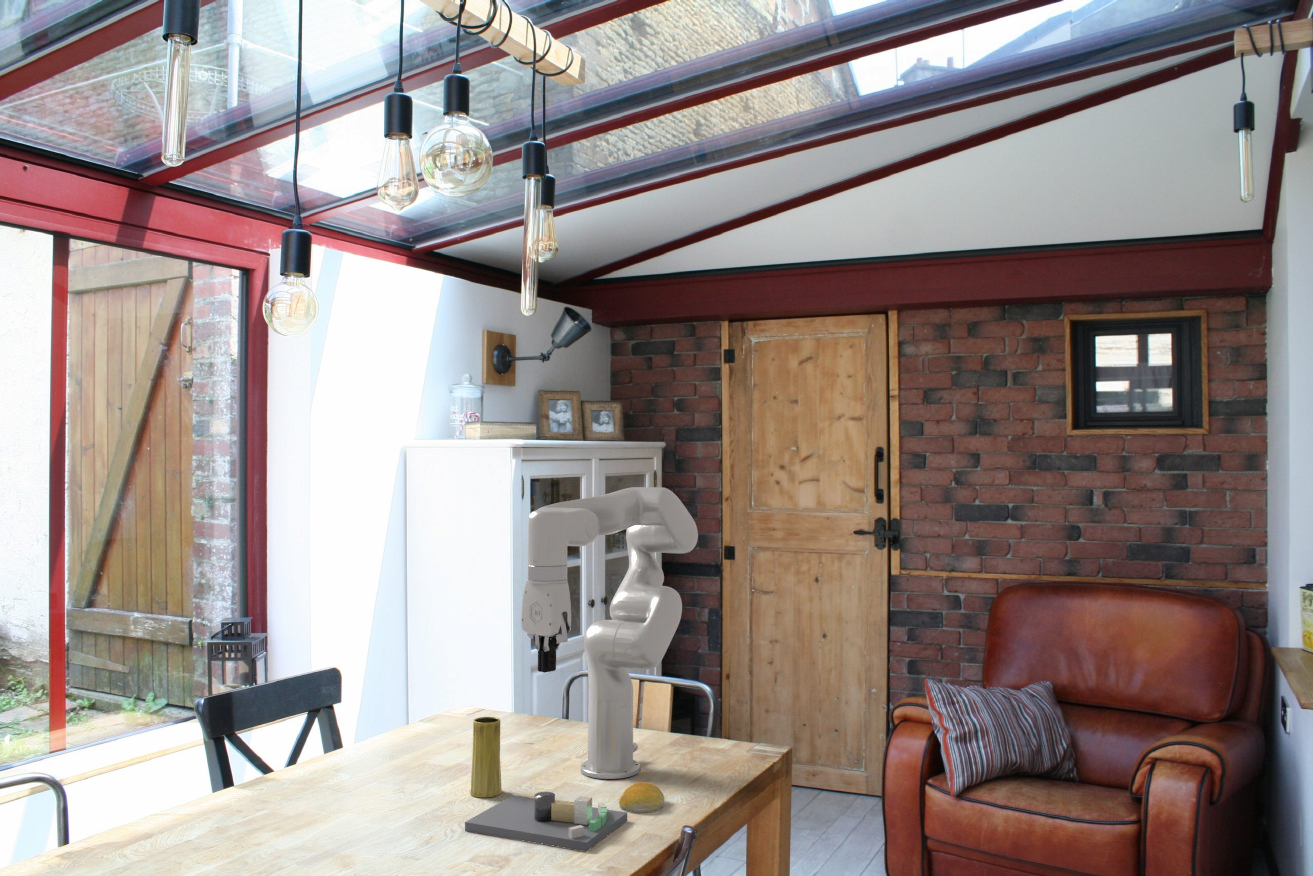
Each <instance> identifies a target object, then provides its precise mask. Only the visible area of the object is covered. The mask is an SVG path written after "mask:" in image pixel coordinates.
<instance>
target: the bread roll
mask: <svg viewBox="0 0 1313 876" xmlns="http://www.w3.org/2000/svg"><path fill="white" fill-rule="evenodd" d="M664 803H665V795H664V793H663V792H662V790H661V789H660V787H658V786H657V785H656V784H653V783H651V782H643V781H641V782H635V783H633V784H631V785H630V786H628V787H627V788H626V789H625V790H624V792H623V794H622V795H621V796H620V798H619V801H618V804H619V808H621V809H622V810H624V811H626V810H627V811H626V812H630V813H633V812H634V813H635V814H647V813H653V812H657V811H658V810H661V809H662V808H663V805H664ZM656 810H657V811H656ZM652 811H653V812H652Z"/></svg>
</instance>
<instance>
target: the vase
mask: <svg viewBox="0 0 1313 876" xmlns="http://www.w3.org/2000/svg"><path fill="white" fill-rule="evenodd" d="M472 730H473V731H472V732H473V737H472V762H471V776H470V777H471V779H470V795H471V796H473V797H475V798H480V799H487V798H493V797H497V796H499V795H501V794H502V792H503V791H502V790H503V789H502V773H501V772H502V770H501V767H502V766H501V718H499V717H497V716H496V717H495V716H483V717H482V716H480V717H477V718H474V719H473V729H472Z"/></svg>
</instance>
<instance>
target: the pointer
mask: <svg viewBox="0 0 1313 876" xmlns="http://www.w3.org/2000/svg"><path fill="white" fill-rule="evenodd" d="M534 798H535V806H534V819H535V820H537V821H550V820H554V821H563V822H572V823H574V824H582V825H588V824H589V822H590V821H591V820H592V807H593V797H592V796H581V795H579V796H578V797H577V798H576V799H574V801H569V800H568V801H566V800H557V799H556V794H555V793H554V792H553V791H540V792H537V793H535V794H534Z"/></svg>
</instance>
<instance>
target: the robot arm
mask: <svg viewBox="0 0 1313 876" xmlns="http://www.w3.org/2000/svg"><path fill="white" fill-rule="evenodd" d="M527 530H528V534H527V535H528V537H527V538H528V539H527V541H528V544H527V545H528V546H527V548H528V550H527V560H528V561H527V580H526V581H525V583H524V584H525V585H524V590H523V594H522V605H521V616H520V617H521V619H520V620H521V621H520V624H521V625H520V626H521V630H522V631H523V632H524V633H527V634H526V635H527V636H528V638H530V639H532V640H533V641H534V643H535V649H536V650H537V671H538V672H539V673H540V672H541V673H544V674H545V673H549V672H555V671H556V670H557V651H558V650H559V646H560V644H564V643H567V642H568V640H569V638H568V634H569V633H570V632H571V628H572V602H571V593H570V588H569V586H570V585H569V582H568V547H585V546H589V545H591V544H592V543H594V542H595V541H596V540H597V538H598V537H599V536H606V535H607V536H608V535H613V534H616V533H619V532H621V531H624V530H626V532H625V538H626V539H625V540H626V547H627V554H628V569H627V570H626V574H625V575H624V577H623V579H622V581H621V583H620V585H619V586H618V588H617V590H616V592H615V594H614V595H613V598H612V600H611V601H610V605H609V616H610V618H611V619H601V620H597V621H595V622H593V623H592V624H590V625H589V626H588V627H587V629H586V631H585V633H584V638H583V649H584V653H585V658H586V665H587V674H588V675H587V677H588V679H587V680H588V681H587V682H588V699H587V700H588V702H587V704H588V705H587V709H588V712H587V713H588V715H587V716H588V719H587V720H588V721H587V722H588V723H587V724H588V725H587V735H588V736H587V739H588V740H587V760H586V761H584V762H582V763H581V765H580V772H581V773H582V775H585V776H586V777H589V778H593V779H602V780H617V779H619V780H620V779H625V778H629V777H633V776H636V775H638V773H640V771H641V764H640V763H639V762H638V761H637V760H634V753H635V752H636V751H638V749H639V746H638V744H637V743H636V742H634V685H633V682H632V678H631V676H630V674H629V672H628V669H637V670H652V669H655V668H656V667H658V665H659V664H661V662H662V660H663V658H664V657H665V654H666V653H667V650H668V648H669V646H670V644H671V642H672V640H673V637H674V635H675V634H676V631H677V629H678V627H679V625H680V621H681V618H682V612H683V603H682V598H681V595H680V593H679V592H678V591H677V590H676V589H674V588H672V587H670V586H667V585H663V583H664V581H665V576H664V575H665V574H664V571H663V569H662V566H661V565H660V563H659V562H658V560H657V559H656V556H655V553H659V554H660V553H663V554H664V553H665V554H688V553H690V552H692V551H693V549H694V548H695V547H696V545H697V543H698V539H699V533H698V527H697V524H696V521H695V520H694V519H693V517H692V515H691V513H690V512H689V511H688V509H687V508H686V506H685V504H683V502H682V501H681V499H680V498H679V497H678V496H677V495H676V494H675V493H674V492H673V491H672V490H670V489H669V488H667V487H663V486H662V487H661V486H660V487H658V486H657V487H651V486H649V487H647V486H633V487H627V488H622V489H619V490H616V491H613V492H609V493H605V494H602V495H601V494H600V495H594V496H590V497H584V498H579V499H572V500H566V501H565V500H564V501H560V502H555V503H552V504H547V505H544V506H542V507H539V508H538V509H536V510H533V511H531V512H530V514H529V515H528V529H527ZM627 668H628V669H627Z"/></svg>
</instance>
